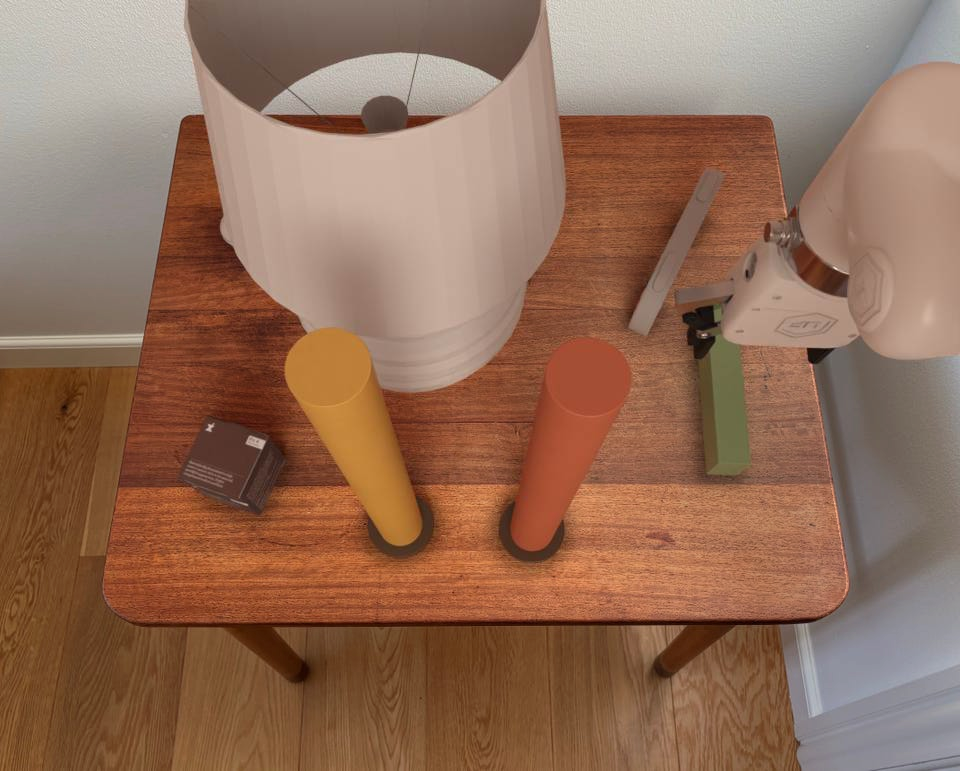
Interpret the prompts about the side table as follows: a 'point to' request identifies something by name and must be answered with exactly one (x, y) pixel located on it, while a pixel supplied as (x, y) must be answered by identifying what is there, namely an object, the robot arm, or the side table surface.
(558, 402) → the terracotta rod
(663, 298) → the grey flat slab
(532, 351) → the side table surface
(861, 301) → the robot arm
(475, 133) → the table lamp
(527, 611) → the side table surface
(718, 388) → the green bar
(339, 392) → the ochre rod
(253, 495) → the box
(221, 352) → the side table surface
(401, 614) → the side table surface
